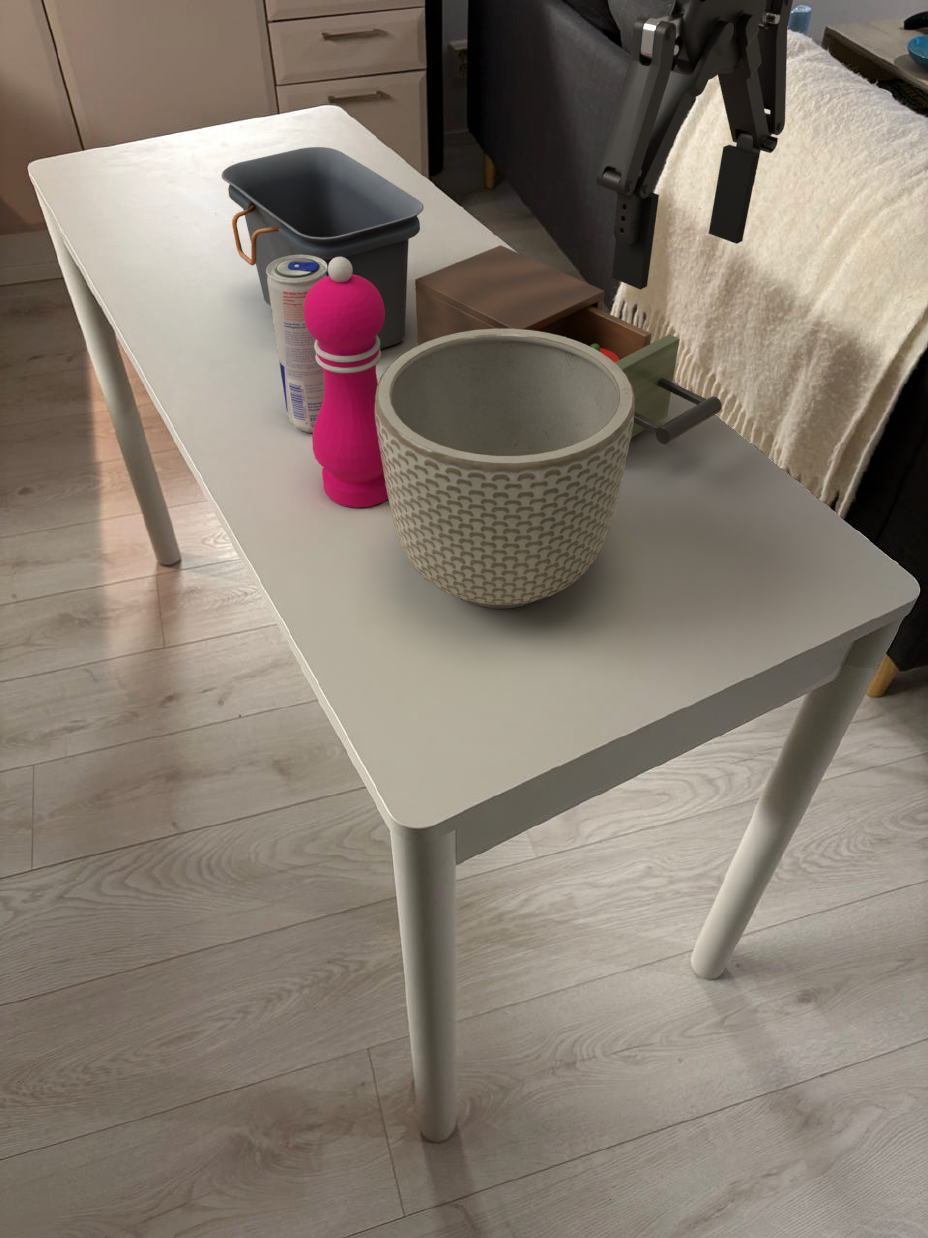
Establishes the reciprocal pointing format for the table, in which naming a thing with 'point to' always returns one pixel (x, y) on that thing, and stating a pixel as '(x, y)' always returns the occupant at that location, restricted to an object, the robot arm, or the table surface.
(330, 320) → the pepper mill
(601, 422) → the planter
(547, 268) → the cabinet
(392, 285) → the storage bin
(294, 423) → the beverage can
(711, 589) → the table surface
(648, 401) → the drawer
